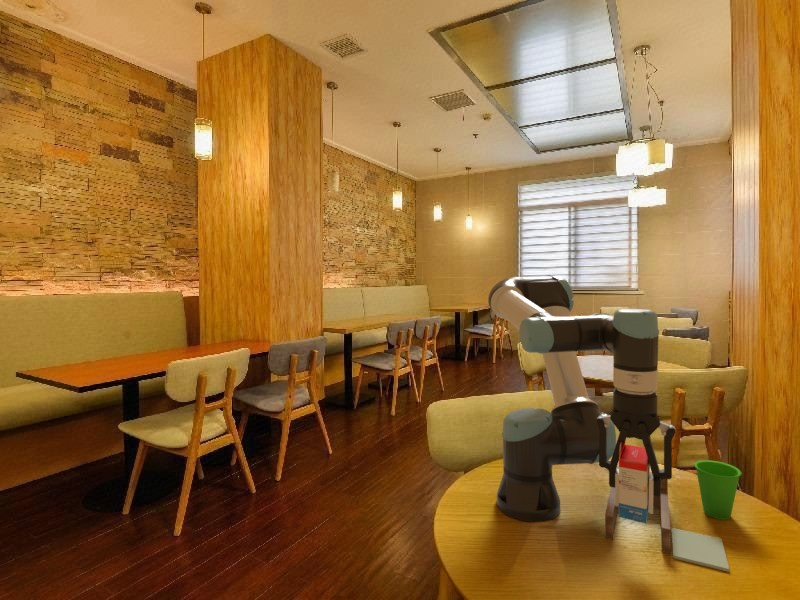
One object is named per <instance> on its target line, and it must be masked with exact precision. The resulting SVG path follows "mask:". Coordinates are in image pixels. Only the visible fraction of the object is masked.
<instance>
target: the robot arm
mask: <svg viewBox="0 0 800 600" xmlns="http://www.w3.org/2000/svg"><path fill="white" fill-rule="evenodd" d="M487 299H488V301H487V303H488V306H489V309H490V310H491V312H492V313H493V314H494V315H495V316H497V317H498V318H500V319H503V320H506V321H507V322H509V324H511V325H512V326H514V328H515V329H516V330H518V331H519V332H518V333H519V335H518V336H519V342H520V344H521V348H522V349H523V350H524V351H525V352H527V353H530V354H531V353H532V354H535V353H538V354H541V355H542V358H543V361H544V366H545V370H546V373H547V377H548V381H549V386H550V389H551V394H552V398H553V402H554V405H553V407H552V408H551V410H550V411H549V410H547V409H544V408H534V407H529V408H528V407H527V408H521V409H516V410H513V411H511V412H510V413H508V414H507V415H505V417H504V419H503V423H502V433H501V438H502V457H503V458H502V459H503V460H502V461H503V462H502V463H503V467H502V468H503V469H502V470H503V472H502V473H503V474H502V476H501V480H500V484H499V486H498V489H497V493H496V505H498V506H497V507H499V508H498V509H499V510H500V511H501V512H502V513H503V512H504V514H505V515H506V514H507V516H508V517H510V516H511V517H510V518H513V519H515V518H516V519H515V520H520V521H523V522H529V523H530V522H536V523H537V522H538V523H539V522H546V521H550V520H553V519H554V518H556V517H558V516H559V515H560V512H561V499H560V496H559V493H558V490H557V488H556V485H555V481H554V478H553V466H557V465H579V464H584V465H585V464H588V465H593V464H597V463H598V465H599V468H603V469H606V470H607V471H608V484H609V485H608V486H609V487H610V488H611V487H614V488H615V506H618V508H619V469H617V466H619V448H620V443H621V442H622V449H623V446H624V443H625V444H626V441H625V440H627V439H633V438H634V439H636V440H642V443H643V447H644V448H645V450H646V454H647V457H648V461H649V464H650V472H652V475H651V474H649V511H648V514H650V515H653V514H654V507H653V495H654V496H660V483H661V480H662V479H668V480H672V478H673V471H672V470H673V462H672V459H673V458H672V457H673V455H672V453H673V452H672V451H673V450H672V449H673V448H672V447H673V445H672V442H673V441H672V440H673V438H674V437H675V434H676V427H675V425H674V424H673V423H669V424H668V423H666V422H663V421H661V419H660V418H659V416H658V393H657V392H656V391H657V390H658V388H659V387H658V385H659V384H658V383H659V382H658V380H659V379H658V378H659V377H658V375H659V370H658V365H659V364H658V362H659V334H660V329H659V324H658V322H659V321H658V320H659V319H658V314H657V313H656V312H655V311H654V310H652V309H641V308H623V309H622V308H621V309H617V310H615V312H614V314H613V315H612V314H610V313H592V314H590V315H571V312H572V311H573V309H574V305H575V303H574V302H575V301H574V291H573V290H572V287H571V285H570V282H569V281H568V280H567V279H565V278H564V277H562V276H558V275H550V274H549V275H545V276H511V277H508V278H505V279H501V280H499V282H497V283H496V284H495V285H493V287H492V288H491V289H490V291H489V294H488V298H487ZM594 351H595V352H596V351H598V352H599V351H600V352H601V351H602V352H603V351H604V352H609V353H612V355H613V356H612V357H613V373H612V374H613V375H612V377H613V380H612V383H613V384H612V385H613V386H614V389H613V392H612V393H613V394H612V395H613V396H612V397H613V399H612V402H613V403H612V404H613V405H612V408H613V409H612V411H611V413H610V414H607V413H605V412H600V409H599V405H598V403H597V402H595V401H594V400H592V399H590V397H589V393H588V390H587V386H586V384H585V383H586V382H585V380H584V379H585V378H584V377H583V373H582V369H581V367H580V366H581V365H580V363H579V359H578V355H577V352H594ZM658 428H659V429H660V433H661V434H660V435H662V436H663V469H660V467H659V462H658V459H657V456H656V452H655V449H654V446H653V442H652V438H651V436H652V434H653V433H654V432H655V431H656V430H657V429H658ZM616 430H618V431H619V434H618V437H617V432H616ZM621 452H622V450H621Z"/></svg>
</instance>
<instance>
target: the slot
mask: <svg viewBox="0 0 800 600" xmlns="http://www.w3.org/2000/svg"><path fill="white" fill-rule="evenodd" d="M617 469H619V465H617ZM650 474H651V475H652V471H650ZM668 480H669V479H662V480H661V483H660V496H654V495H653V508H657V509H660V510H659V511H660V512H659V513H660V514H659V515H660V541H661V552H662V553H666V554H671V520H670V507H669V505H670V504H669V492H668ZM618 510H619V507H618V506H615V488H614V487H610V489H609V494H608V499H607V505H606V509H605V514H604V523H605V524H604V525H605V526H604V529H605V530H604V533H605V534H604V538H605V539H610V540H614V535H615V528H616V524H617V523H616V522H617V521H616V520H617V516H618V515H617V514H618Z"/></svg>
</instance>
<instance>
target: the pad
mask: <svg viewBox="0 0 800 600" xmlns="http://www.w3.org/2000/svg"><path fill="white" fill-rule="evenodd" d="M670 532H671V543H672V558H673V559H675V560H679V561H683V562H687V563H691V564H695V565H700V566H702V567H703V566H704V567H707V568H712V569H715V570H719V571H724V572H727V573H730V566H729V563H728V558H727V555H726V551H725V547H724V543H723V539H722V538H721V537H717V536H710V535H706V534H704V533H703V534H701V533H697V532H694V531H693V532H692V531H689V530H683V529H678V528H674V527H670Z"/></svg>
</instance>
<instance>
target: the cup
mask: <svg viewBox="0 0 800 600" xmlns="http://www.w3.org/2000/svg"><path fill="white" fill-rule="evenodd" d="M693 465H694V468H695V470H696V476H697V482H698V487H699V493H700V499H701V502H702V509H703V511H704V514H706V515H707V516H709V517H711V518H714V519H718V520H729V519H730V518H731V516H732V512H733V507H734V503H735V497H736V493H737V488H738V485H739V484H738V483H739V480H740V477H741V476H742V474H743V473H742V471H741V470H740V469H739V468H737V467H736V466H734V465H731V464H729V463H727V462H722V461H717V460H716V461H715V460H708V459H707V460H706V459H704V460H703V459H702V460H697V461H696V462H694V464H693Z"/></svg>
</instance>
